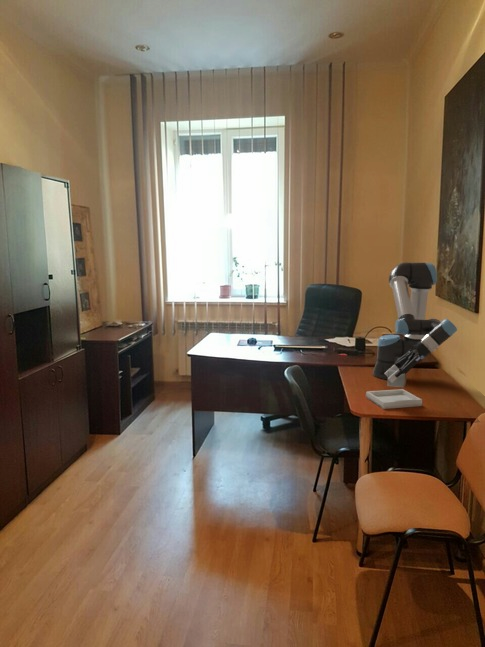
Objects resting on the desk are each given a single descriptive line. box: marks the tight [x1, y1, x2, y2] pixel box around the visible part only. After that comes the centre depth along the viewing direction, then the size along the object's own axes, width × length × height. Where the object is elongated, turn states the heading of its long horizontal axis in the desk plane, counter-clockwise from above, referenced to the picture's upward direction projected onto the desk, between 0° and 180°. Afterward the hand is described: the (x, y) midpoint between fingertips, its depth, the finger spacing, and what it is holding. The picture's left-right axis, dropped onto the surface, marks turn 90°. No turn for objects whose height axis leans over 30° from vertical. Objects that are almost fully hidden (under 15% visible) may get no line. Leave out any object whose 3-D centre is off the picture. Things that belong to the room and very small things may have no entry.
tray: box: [365, 388, 423, 410], centre depth 221 cm, size 16×20×3 cm
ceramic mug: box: [386, 370, 407, 388], centre depth 219 cm, size 11×8×8 cm
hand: (387, 378), depth 219 cm, fingers closed on ceramic mug, 8 cm apart
